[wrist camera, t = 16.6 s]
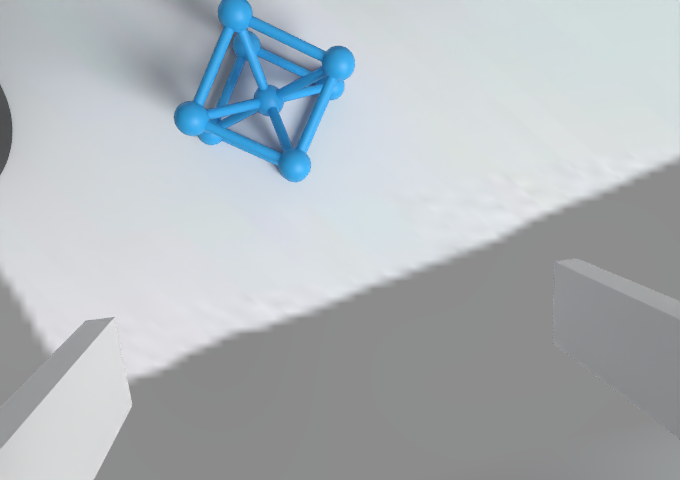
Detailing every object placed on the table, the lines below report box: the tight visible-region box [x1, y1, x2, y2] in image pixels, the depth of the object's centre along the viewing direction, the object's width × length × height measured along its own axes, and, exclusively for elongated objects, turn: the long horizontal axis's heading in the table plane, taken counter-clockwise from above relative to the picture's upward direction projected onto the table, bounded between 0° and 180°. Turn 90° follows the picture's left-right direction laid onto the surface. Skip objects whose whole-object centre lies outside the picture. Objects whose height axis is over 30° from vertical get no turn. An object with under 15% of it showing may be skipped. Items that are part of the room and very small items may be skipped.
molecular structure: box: [174, 0, 355, 182], centre depth 38 cm, size 10×10×10 cm
